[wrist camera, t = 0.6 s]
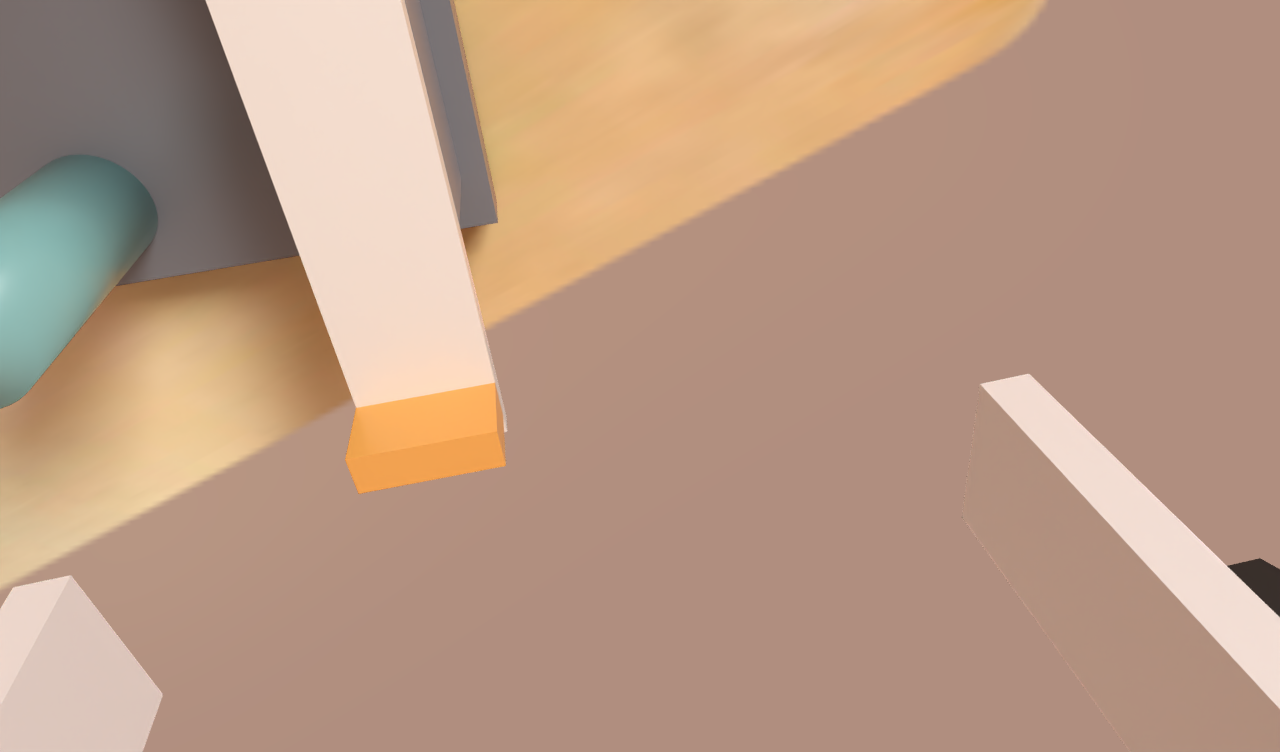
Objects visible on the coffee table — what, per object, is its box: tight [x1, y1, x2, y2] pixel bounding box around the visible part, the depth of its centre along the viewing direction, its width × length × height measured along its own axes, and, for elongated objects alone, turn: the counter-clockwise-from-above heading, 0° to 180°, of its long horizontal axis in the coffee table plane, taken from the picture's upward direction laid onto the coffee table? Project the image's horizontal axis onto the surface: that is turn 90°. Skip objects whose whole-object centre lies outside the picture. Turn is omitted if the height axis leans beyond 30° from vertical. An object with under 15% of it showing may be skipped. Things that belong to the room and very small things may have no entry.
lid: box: [206, 0, 507, 494], centre depth 25 cm, size 16×5×4 cm, turn 6°
